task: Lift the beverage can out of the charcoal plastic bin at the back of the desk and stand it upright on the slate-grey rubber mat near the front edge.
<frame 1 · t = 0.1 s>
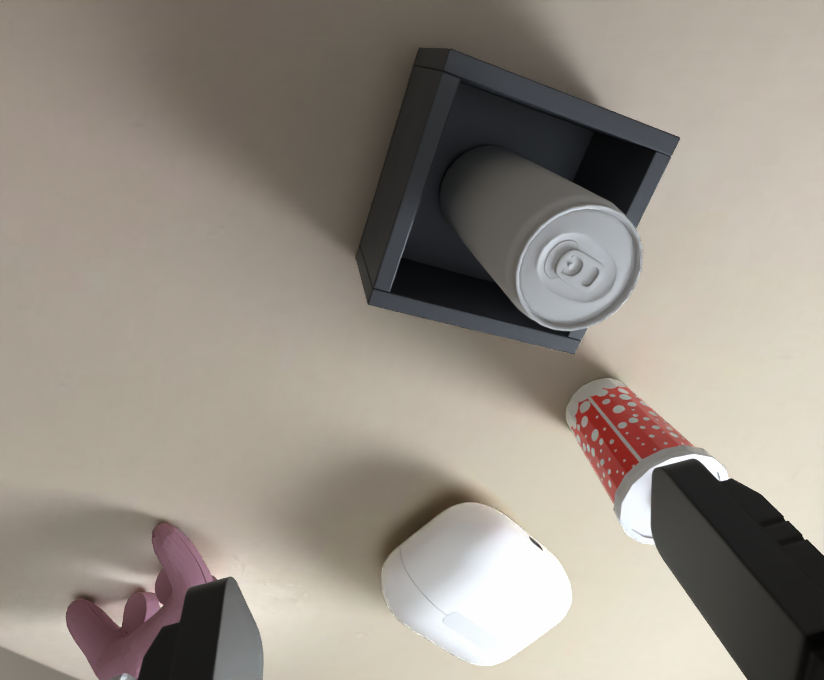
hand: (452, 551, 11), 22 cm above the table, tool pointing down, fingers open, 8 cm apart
video game controller: (154, 575, 39), on the table
beverage cup: (597, 406, 39), on the table
earbud case: (467, 554, 43), on the table
bin: (480, 190, 31), on the table
beverage can: (481, 190, 31), resting on bin
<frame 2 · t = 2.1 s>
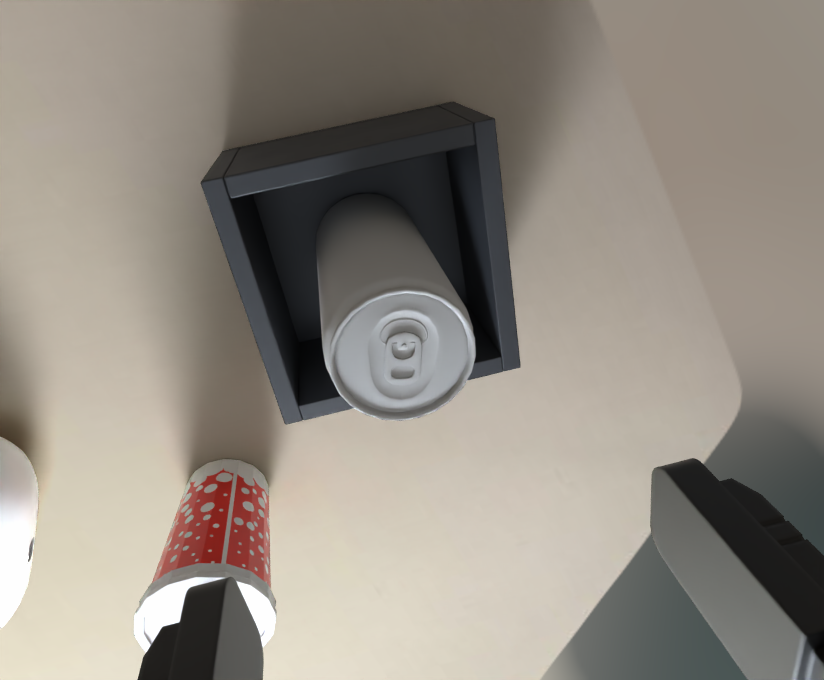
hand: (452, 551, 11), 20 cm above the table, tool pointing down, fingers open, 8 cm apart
beverage cup: (228, 488, 34), on the table
bin: (364, 237, 29), on the table
beverage can: (365, 239, 29), resting on bin
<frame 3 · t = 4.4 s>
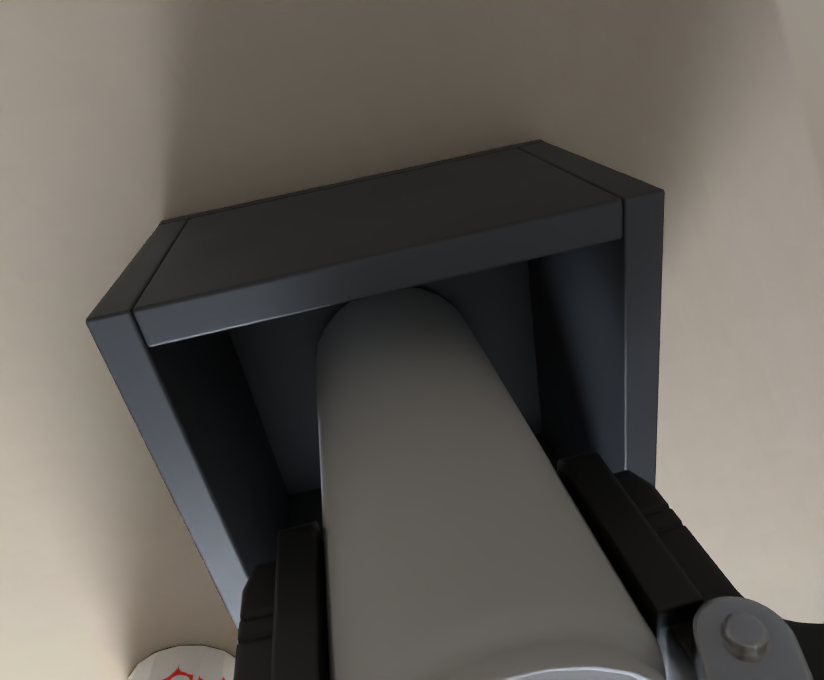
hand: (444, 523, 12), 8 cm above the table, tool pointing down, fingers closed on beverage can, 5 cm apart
beverage cup: (189, 678, 24), on the table
bin: (391, 345, 19), on the table
beverage can: (392, 348, 18), resting on bin, touching gripper
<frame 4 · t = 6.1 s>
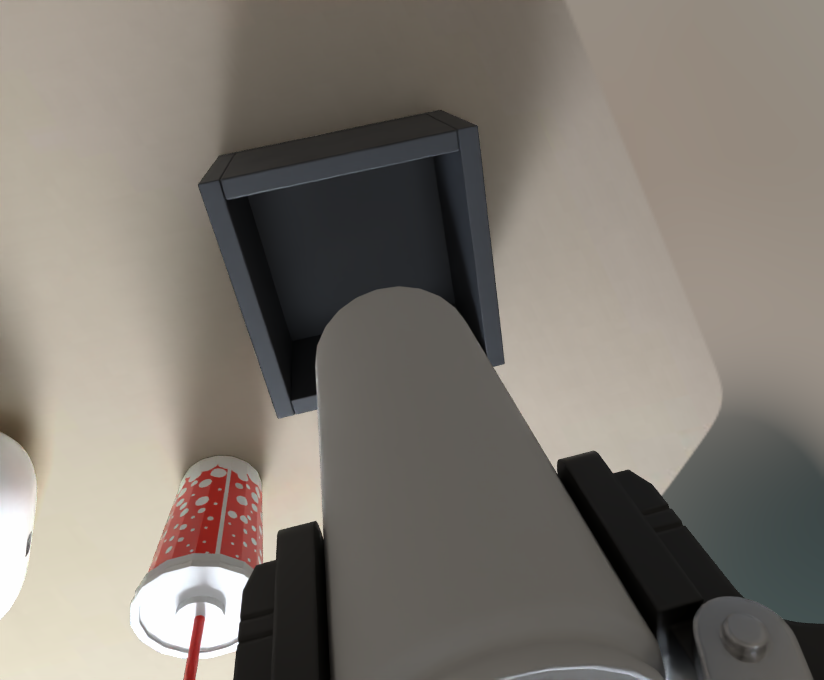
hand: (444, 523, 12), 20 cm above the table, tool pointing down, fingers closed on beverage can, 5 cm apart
beverage cup: (222, 484, 35), on the table
bin: (355, 240, 30), on the table
beverage can: (392, 349, 18), point 13 cm above the table, touching gripper
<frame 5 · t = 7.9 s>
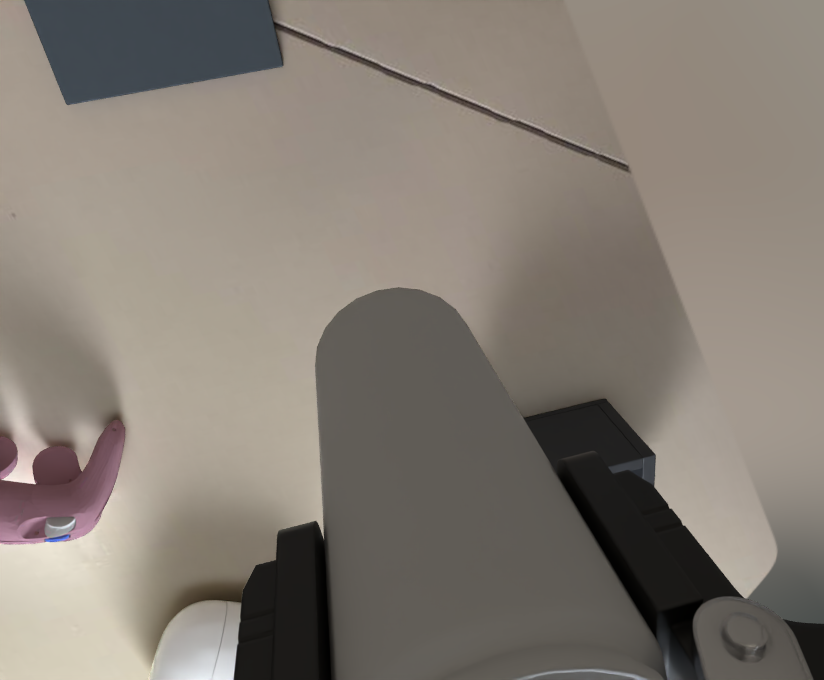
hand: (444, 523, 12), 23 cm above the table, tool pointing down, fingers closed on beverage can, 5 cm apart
video game controller: (37, 438, 34), on the table
earbud case: (228, 642, 45), on the table
bin: (536, 475, 42), on the table
beverage can: (392, 350, 18), point 15 cm above the table, touching gripper
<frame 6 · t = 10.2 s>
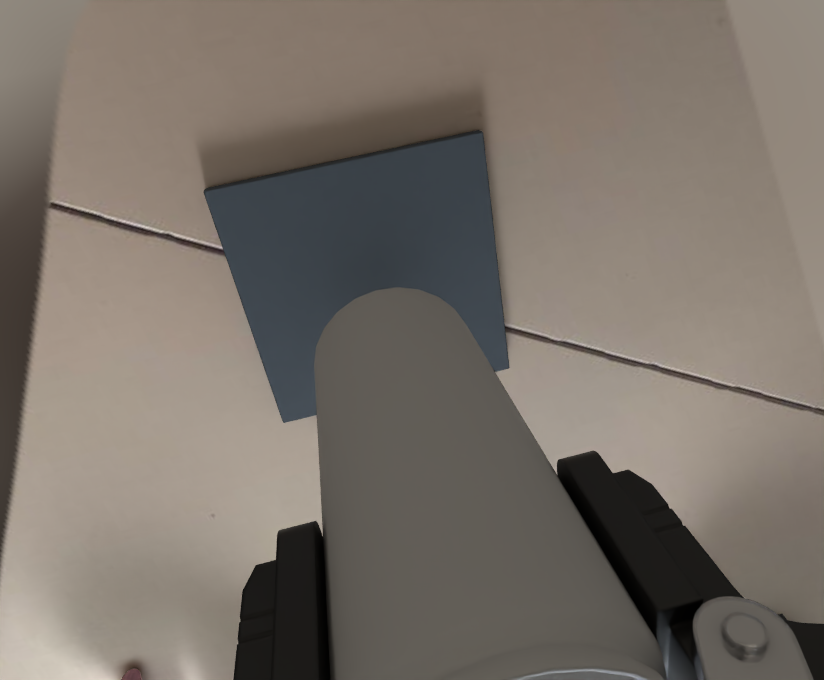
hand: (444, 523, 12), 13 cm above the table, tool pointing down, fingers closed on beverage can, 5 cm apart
mat: (373, 285, 23), on the table
beverage can: (391, 350, 18), point 6 cm above the table, touching gripper
when the fingers open (8 cm above the table, at t = 11.9 s): beverage can stays where it is, resting on mat.
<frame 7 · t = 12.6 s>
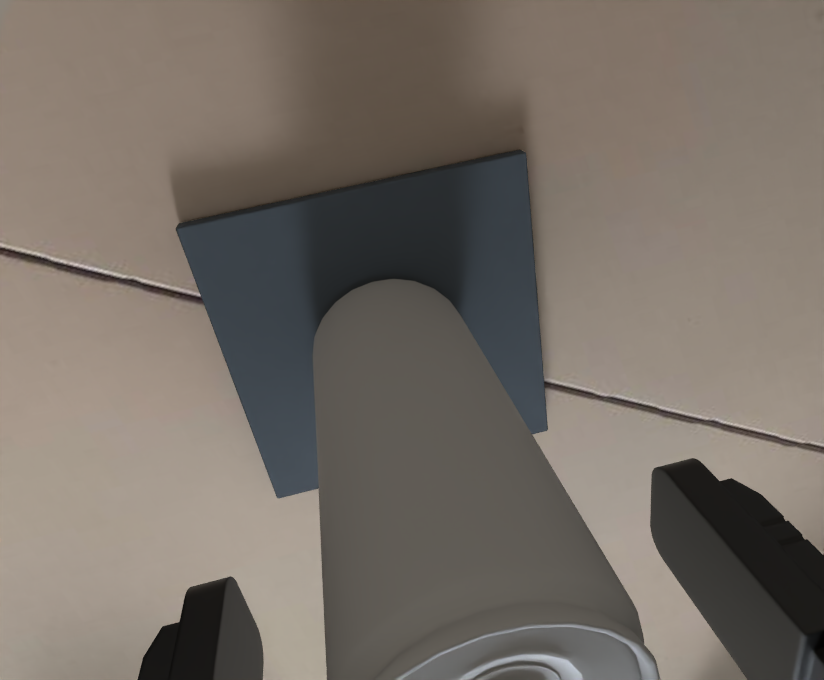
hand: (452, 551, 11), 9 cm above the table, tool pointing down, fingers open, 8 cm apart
mat: (386, 337, 19), on the table
beverage can: (387, 340, 19), resting on mat
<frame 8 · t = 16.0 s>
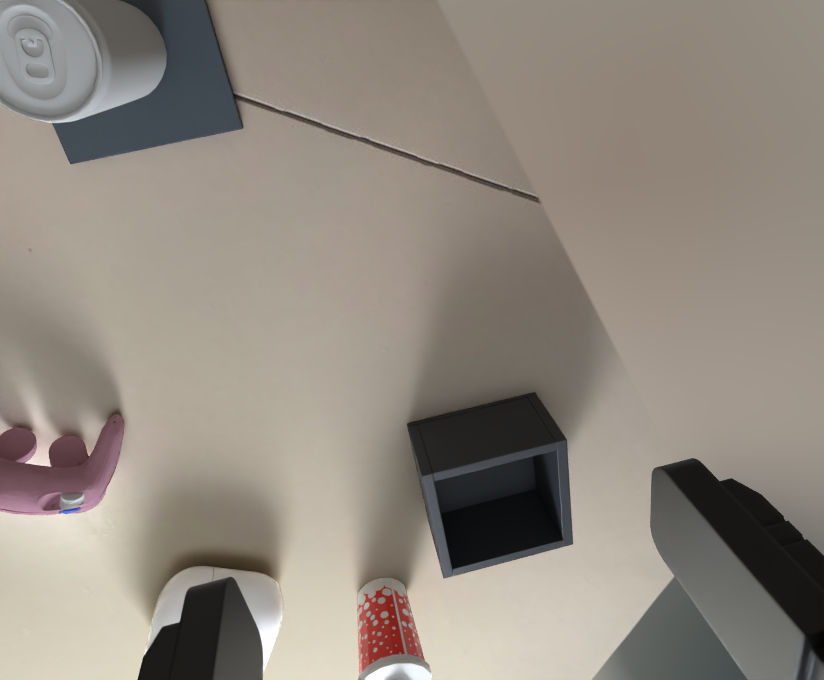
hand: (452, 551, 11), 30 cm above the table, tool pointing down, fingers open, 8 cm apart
mat: (124, 51, 32), on the table
video game controller: (52, 429, 42), on the table
beverage cup: (381, 593, 55), on the table
earbud case: (218, 604, 52), on the table
bin: (479, 458, 49), on the table
beverage can: (123, 51, 32), resting on mat
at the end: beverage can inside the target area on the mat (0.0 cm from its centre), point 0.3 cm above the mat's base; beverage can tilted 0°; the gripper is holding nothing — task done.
